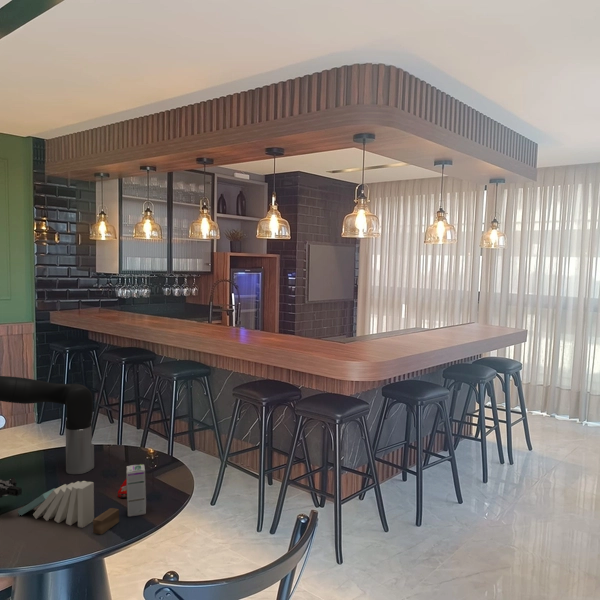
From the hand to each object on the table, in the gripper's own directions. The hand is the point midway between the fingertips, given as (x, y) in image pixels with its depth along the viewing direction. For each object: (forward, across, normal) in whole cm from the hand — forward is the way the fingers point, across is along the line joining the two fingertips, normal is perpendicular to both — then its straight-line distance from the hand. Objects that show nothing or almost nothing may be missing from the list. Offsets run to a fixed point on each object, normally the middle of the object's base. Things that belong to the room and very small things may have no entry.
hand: (19, 492), depth 158 cm
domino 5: (+18, +3, +8) cm, 20 cm away
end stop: (+30, +3, +8) cm, 31 cm away
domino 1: (-1, +3, +7) cm, 8 cm away
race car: (+20, +27, +8) cm, 35 cm away
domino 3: (+9, +3, +8) cm, 12 cm away
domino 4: (+13, +3, +8) cm, 16 cm away
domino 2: (+5, +3, +7) cm, 9 cm away
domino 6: (+22, +3, +8) cm, 24 cm away
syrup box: (+32, +14, +8) cm, 36 cm away
